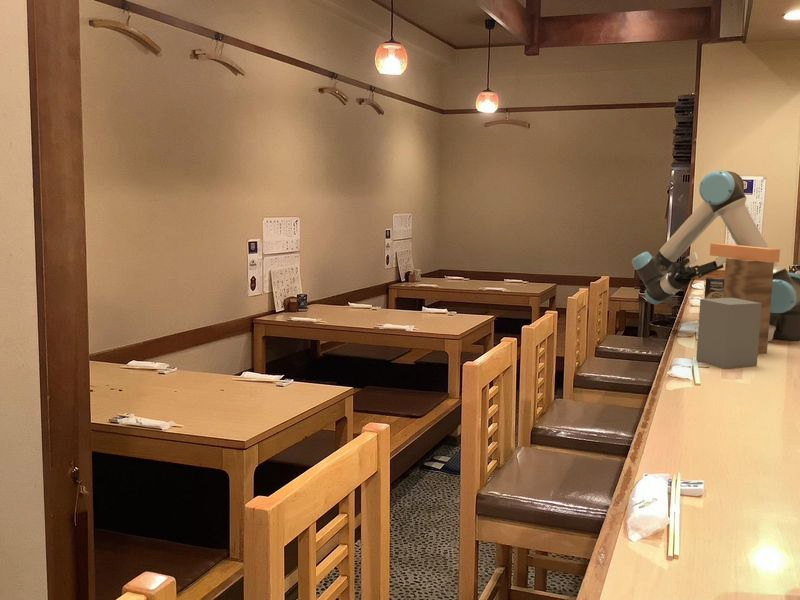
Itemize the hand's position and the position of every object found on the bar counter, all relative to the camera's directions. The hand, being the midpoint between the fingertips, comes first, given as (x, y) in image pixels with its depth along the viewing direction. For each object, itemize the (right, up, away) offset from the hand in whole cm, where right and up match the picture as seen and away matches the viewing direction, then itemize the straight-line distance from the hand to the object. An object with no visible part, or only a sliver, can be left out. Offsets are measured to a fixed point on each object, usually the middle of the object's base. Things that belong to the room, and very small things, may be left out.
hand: (712, 255), depth 262 cm
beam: (+5, -2, -12) cm, 13 cm away
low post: (-8, -34, -28) cm, 45 cm away
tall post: (+5, -32, -11) cm, 34 cm away
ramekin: (+19, -30, +9) cm, 36 cm away
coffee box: (+24, -22, +58) cm, 67 cm away
